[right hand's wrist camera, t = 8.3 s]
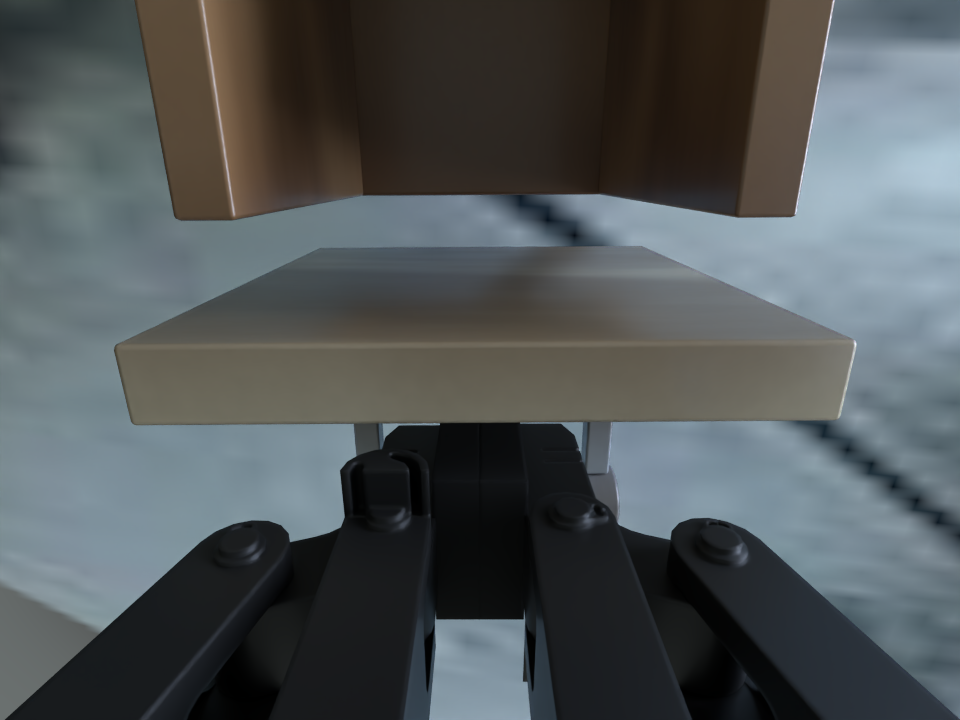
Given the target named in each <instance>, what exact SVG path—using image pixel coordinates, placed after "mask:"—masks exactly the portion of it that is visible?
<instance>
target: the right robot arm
mask: <svg viewBox="0 0 960 720" xmlns="http://www.w3.org/2000/svg"><path fill="white" fill-rule="evenodd" d="M340 474H341V484H342V493H343V503H344V513H345V518H344V521H343V524H342V526H341V528H339V529H337V530H334V531H332V532H330V533H327V534H324V535H320V536H317V537H312V538H308V539H303V540H298V541H294V542H290V540H289V534H288V532H287V531H286V530H285V529H284V528H283V527H282V526H281V525H278V524H276V523H273V522H270V521H247V522H241V523H237V524H233V525H230V526H228V527H225V528H223V529H221V530H218V531H216V532H214V533H213V534H211V535H210V536H209V537H207V538H206V539H204V540H203V541H201V542H200V543H199V544H198V545H197V546H196V547H195V548H194V549H192V550H191V551H190V552H189V553H188V554H187V555H186V556H185V557H184V558H183V559H181V560H180V561H179V562H178V563H177V564H176V565H175V566H174V567H173V568H171V569H170V570H169V571H168V572H167V573H166V574H165V575H164V576H163V577H162V578H160V579H159V580H158V581H157V582H156V583H155V584H154V585H153V586H152V587H151V588H149V589H148V590H147V591H146V592H145V593H144V594H143V595H142V596H141V597H140V598H138V599H137V600H136V601H135V602H134V603H133V604H132V605H131V606H130V607H129V608H127V609H126V610H125V611H124V612H123V613H122V614H121V615H120V616H119V617H118V618H116V619H115V620H114V621H113V622H112V623H111V624H110V625H109V626H108V627H106V628H105V629H104V630H103V631H102V632H101V633H100V634H99V635H98V636H97V637H96V638H94V639H93V640H92V641H91V642H90V643H89V644H88V645H87V646H86V647H84V648H83V649H82V650H81V651H80V652H79V653H78V654H77V655H76V656H75V657H74V658H72V659H71V660H70V661H69V662H68V663H67V664H66V665H65V666H64V667H62V668H61V669H60V670H59V671H58V672H57V673H56V674H55V675H54V676H53V677H51V678H50V679H49V680H48V681H47V682H46V683H45V684H44V685H43V686H42V687H40V688H39V689H38V690H37V691H36V692H35V693H34V694H33V695H32V696H30V697H29V698H28V699H27V700H26V701H25V702H24V703H23V704H22V705H21V706H19V707H18V708H17V709H16V710H15V711H14V712H13V713H12V714H11V715H10V716H8V717H7V718H6V719H5V720H429V715H430V704H431V693H432V681H433V670H434V659H435V648H436V644H435V614H436V619H524V612H525V644H524V671H523V682H528V692H529V703H530V714H531V720H960V719H959V718H958V717H956V716H955V715H954V714H953V713H952V712H951V711H950V710H949V709H948V708H946V707H945V706H944V705H943V704H942V703H941V702H940V701H939V700H938V699H936V698H935V697H934V696H933V695H932V694H931V693H930V692H929V691H928V690H926V689H925V688H924V687H923V686H922V685H921V684H920V683H919V682H918V681H916V680H915V679H914V678H913V677H912V676H911V675H910V674H909V673H908V672H906V671H905V670H904V669H903V668H902V667H901V666H900V665H899V664H898V663H896V662H895V661H894V660H893V659H892V658H891V657H890V656H889V655H888V654H886V653H885V652H884V651H883V650H882V649H881V648H880V647H879V646H878V645H876V644H875V643H874V642H873V641H872V640H871V639H870V638H869V637H868V636H866V635H865V634H864V633H863V632H862V631H861V630H860V629H859V628H858V627H856V626H855V625H854V624H853V623H852V622H851V621H850V620H849V619H848V618H846V617H845V616H844V615H843V614H842V613H841V612H840V611H839V610H838V609H836V608H835V607H834V606H833V605H832V604H831V603H830V602H829V601H828V600H826V599H825V598H824V597H823V596H822V595H821V594H820V593H819V592H818V591H816V590H815V589H814V588H813V587H812V586H811V585H810V584H809V583H808V582H807V581H805V580H804V579H803V578H802V577H801V576H800V575H799V574H798V573H797V572H795V571H794V570H793V569H792V568H791V567H790V566H789V565H788V564H787V563H785V562H784V561H783V560H782V559H781V558H780V557H779V556H778V555H777V554H775V553H774V552H773V551H772V550H771V549H770V548H769V547H768V546H767V545H765V544H764V543H763V542H762V541H761V540H760V539H758V538H757V537H756V536H754V535H753V534H751V533H750V532H748V531H747V530H745V529H743V528H741V527H739V526H736V525H734V524H731V523H729V522H726V521H721V520H716V519H711V518H694V519H689V520H686V521H684V522H681V523H679V524H678V525H677V526H676V527H675V528H674V529H673V530H672V533H671V540H668V539H663V538H658V537H654V536H649V535H644V534H641V533H637V532H634V531H631V530H628V529H626V528H624V527H622V526H620V525H618V523H617V520H616V517H615V516H614V514H613V513H612V511H611V510H610V508H609V507H608V506H607V505H605V504H604V503H602V502H601V501H599V500H598V499H596V497H595V494H594V491H593V488H592V485H591V482H590V479H589V476H588V473H587V471H586V468H585V465H584V462H583V459H582V456H581V453H580V451H579V447H578V444H577V442H576V439H575V436H574V434H572V433H571V432H570V431H569V430H568V429H566V428H565V427H564V426H563V425H562V424H520V422H512V423H440V425H399V426H398V427H397V428H396V429H395V430H393V431H392V432H391V433H390V434H389V435H387V436H386V438H385V441H384V444H383V447H382V449H379V450H373V451H370V452H366V453H363V454H360V455H358V456H356V457H355V458H353V459H351V460H349V461H348V462H347V463H346V464H345V465H344V466H343V468H342V469H341V470H340Z"/></svg>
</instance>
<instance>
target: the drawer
mask: <svg viewBox="0 0 960 720" xmlns="http://www.w3.org/2000/svg"><path fill="white" fill-rule="evenodd" d="M834 1H835V0H135V6H136V11H137V17H138V22H139V28H140V33H141V38H142V44H143V49H144V55H145V60H146V66H147V71H148V76H149V82H150V87H151V93H152V98H153V104H154V109H155V114H156V120H157V125H158V131H159V136H160V142H161V147H162V153H163V158H164V163H165V169H166V174H167V180H168V185H169V191H170V196H171V201H172V207H173V212H174V216H175V218H176V219H178V220H181V221H206V220H237V219H242V218H247V217H252V216H258V215H263V214H268V213H273V212H279V211H284V210H289V209H294V208H300V207H305V206H310V205H315V204H321V203H326V202H331V201H336V200H342V199H347V198H352V197H357V196H378V195H554V194H601V195H607V196H613V197H619V198H625V199H631V200H636V201H642V202H648V203H654V204H660V205H666V206H672V207H678V208H684V209H690V210H696V211H702V212H708V213H714V214H720V215H726V216H732V217H738V218H739V217H793V216H795V215H796V212H797V207H798V201H799V196H800V190H801V185H802V179H803V174H804V168H805V162H806V157H807V151H808V146H809V140H810V135H811V129H812V124H813V118H814V112H815V107H816V101H817V96H818V90H819V85H820V79H821V74H822V68H823V62H824V57H825V51H826V46H827V40H828V35H829V29H830V24H831V18H832V12H833V7H834ZM856 347H857V344H856V341H855V340H854V339H851V338H849V337H847V336H844V335H842V334H840V333H838V332H835V331H833V330H831V329H829V328H826V327H824V326H822V325H819V324H817V323H815V322H813V321H810V320H808V319H806V318H804V317H801V316H799V315H797V314H794V313H792V312H790V311H788V310H785V309H783V308H781V307H779V306H776V305H774V304H772V303H770V302H767V301H765V300H763V299H760V298H758V297H756V296H754V295H751V294H749V293H747V292H745V291H742V290H740V289H738V288H735V287H733V286H731V285H729V284H726V283H724V282H722V281H720V280H717V279H715V278H713V277H710V276H708V275H706V274H704V273H701V272H699V271H697V270H695V269H692V268H690V267H688V266H686V265H683V264H681V263H679V262H676V261H674V260H672V259H670V258H667V257H665V256H663V255H661V254H658V253H656V252H654V251H651V250H649V249H647V248H645V247H642V246H588V247H421V248H319V249H317V250H315V251H313V252H311V253H309V254H307V255H304V256H302V257H300V258H298V259H296V260H294V261H292V262H290V263H288V264H285V265H283V266H281V267H279V268H277V269H275V270H273V271H271V272H269V273H267V274H264V275H262V276H260V277H258V278H256V279H254V280H252V281H250V282H248V283H245V284H243V285H241V286H239V287H237V288H235V289H233V290H231V291H229V292H226V293H224V294H222V295H220V296H218V297H216V298H214V299H212V300H210V301H207V302H205V303H203V304H201V305H199V306H197V307H195V308H193V309H191V310H188V311H186V312H184V313H182V314H180V315H178V316H176V317H174V318H172V319H170V320H167V321H165V322H163V323H161V324H159V325H157V326H155V327H153V328H151V329H148V330H146V331H144V332H142V333H140V334H138V335H136V336H134V337H132V338H129V339H127V340H125V341H123V342H121V343H119V344H117V345H116V346H115V348H114V352H115V356H116V360H117V365H118V369H119V373H120V377H121V381H122V386H123V390H124V394H125V398H126V402H127V407H128V411H129V415H130V419H131V422H132V423H133V424H134V425H227V424H354V433H355V444H356V455H357V456H358V455H360V454H363V453H366V452H370V451H373V450H379V449H382V447H383V444H384V439H383V425H382V423H512V422H583V436H582V451H581V456H582V459H583V462H584V465H585V468H586V471H587V473H588V476H589V479H590V482H591V485H592V488H593V491H594V494H595V497H596V499H598V500H599V501H601V502H602V503H604V504H605V505H607V506H608V507H609V508H610V510H611V511H612V513H613V514H614V516H615V517H616V520H617V523H618V520H619V492H618V485H617V480H616V476H615V473H614V471H613V468H612V467H611V466H610V465H609V459H610V446H611V434H612V422H654V421H796V420H837V419H839V417H840V415H841V411H842V407H843V402H844V398H845V394H846V389H847V385H848V381H849V377H850V372H851V368H852V364H853V359H854V355H855V351H856Z"/></svg>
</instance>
